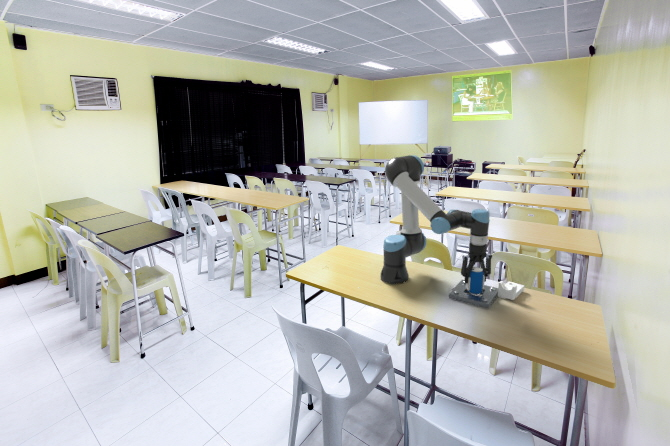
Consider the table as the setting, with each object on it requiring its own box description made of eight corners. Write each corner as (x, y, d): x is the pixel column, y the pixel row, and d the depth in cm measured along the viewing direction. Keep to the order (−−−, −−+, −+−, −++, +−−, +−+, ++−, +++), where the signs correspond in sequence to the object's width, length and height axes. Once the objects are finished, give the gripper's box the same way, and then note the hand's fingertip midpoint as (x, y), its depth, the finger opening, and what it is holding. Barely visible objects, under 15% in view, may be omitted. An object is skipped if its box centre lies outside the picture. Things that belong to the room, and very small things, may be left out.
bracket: (513, 302, 158) (514, 287, 156) (497, 297, 163) (499, 282, 161) (523, 292, 166) (525, 278, 164) (508, 287, 171) (509, 273, 169)
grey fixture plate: (448, 298, 163) (449, 292, 162) (461, 283, 176) (462, 278, 176) (488, 309, 152) (489, 303, 151) (499, 293, 166) (499, 287, 165)
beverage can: (470, 287, 168) (472, 265, 165) (483, 291, 164) (486, 268, 160) (464, 292, 164) (466, 269, 160) (478, 296, 159) (480, 273, 156)
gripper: (462, 247, 152) (458, 293, 159) (502, 244, 154) (498, 290, 161) (454, 241, 159) (451, 286, 166) (493, 238, 161) (489, 283, 168)
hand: (474, 288), depth 163 cm, fingers closed on beverage can, 6 cm apart
